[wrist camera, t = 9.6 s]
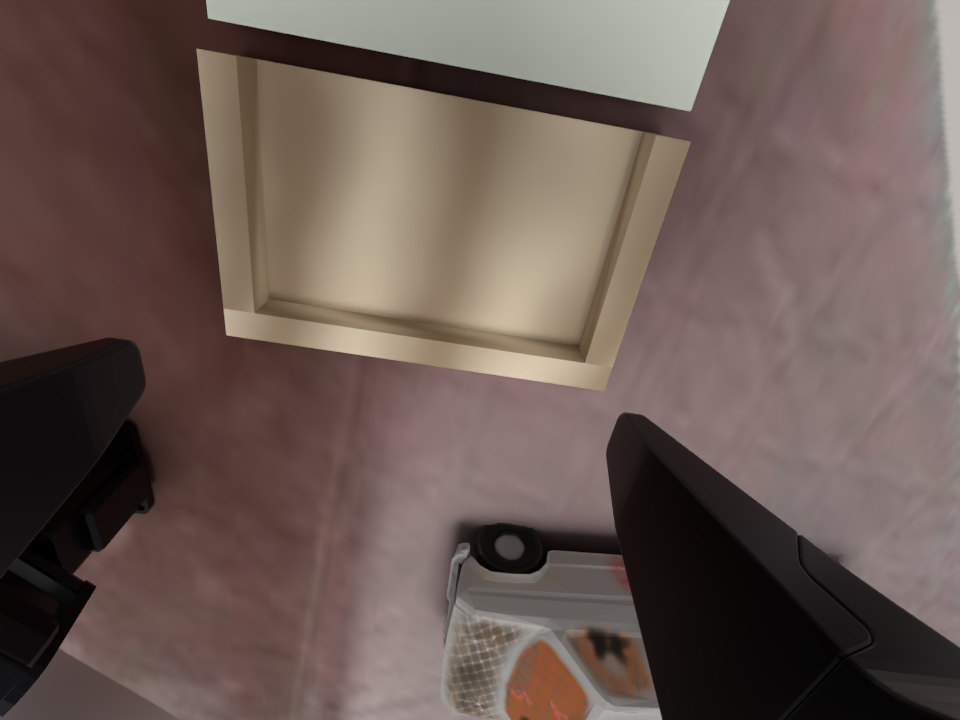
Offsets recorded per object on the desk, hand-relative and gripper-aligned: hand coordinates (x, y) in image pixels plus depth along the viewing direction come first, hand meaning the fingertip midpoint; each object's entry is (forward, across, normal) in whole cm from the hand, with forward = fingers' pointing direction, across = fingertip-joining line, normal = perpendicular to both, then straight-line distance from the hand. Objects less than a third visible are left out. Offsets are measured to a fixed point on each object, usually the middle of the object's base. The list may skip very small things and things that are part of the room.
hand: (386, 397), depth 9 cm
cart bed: (+13, 0, 0) cm, 13 cm away
